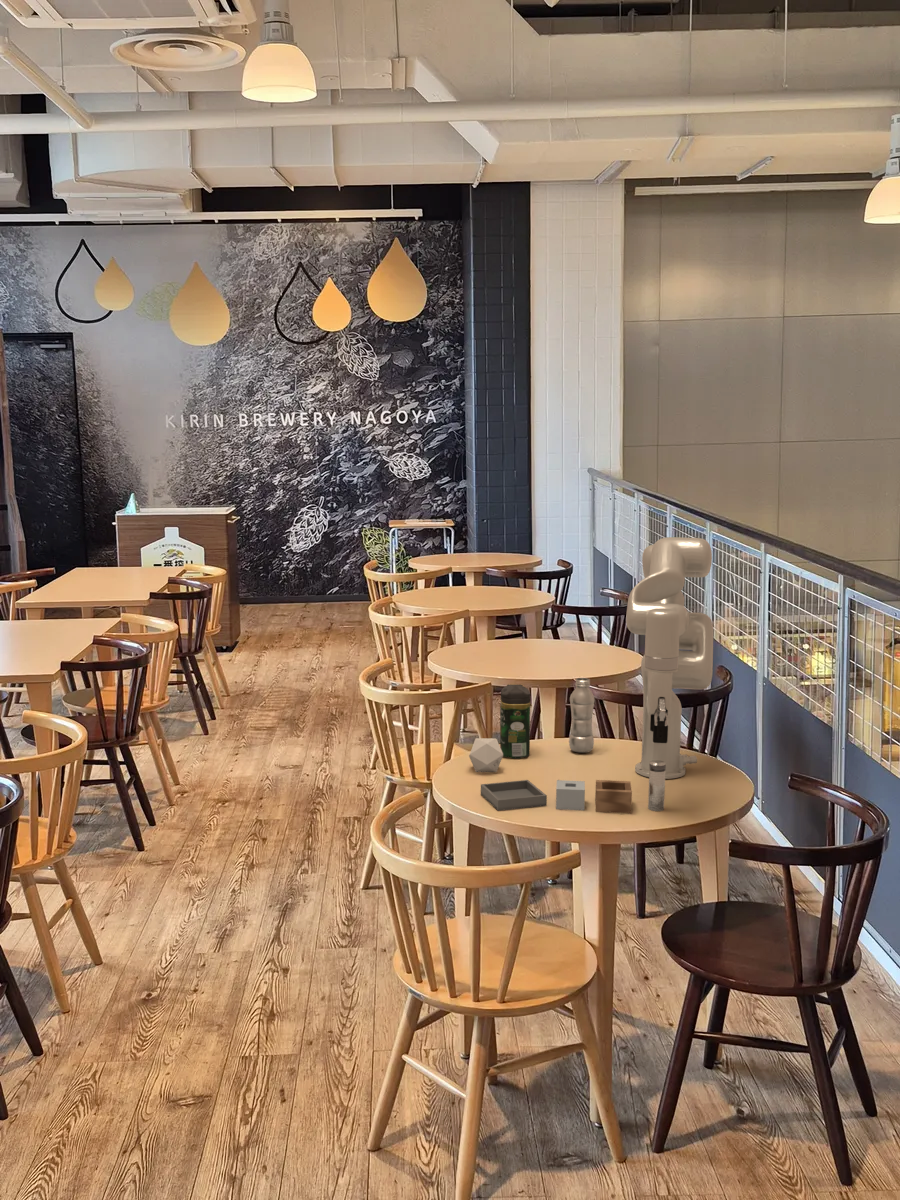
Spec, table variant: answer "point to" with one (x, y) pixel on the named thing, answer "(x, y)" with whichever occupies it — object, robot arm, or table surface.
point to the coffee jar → (515, 721)
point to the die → (486, 755)
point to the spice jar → (656, 785)
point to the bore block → (613, 796)
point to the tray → (513, 795)
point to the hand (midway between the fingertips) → (658, 736)
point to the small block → (570, 795)
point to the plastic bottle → (581, 717)
